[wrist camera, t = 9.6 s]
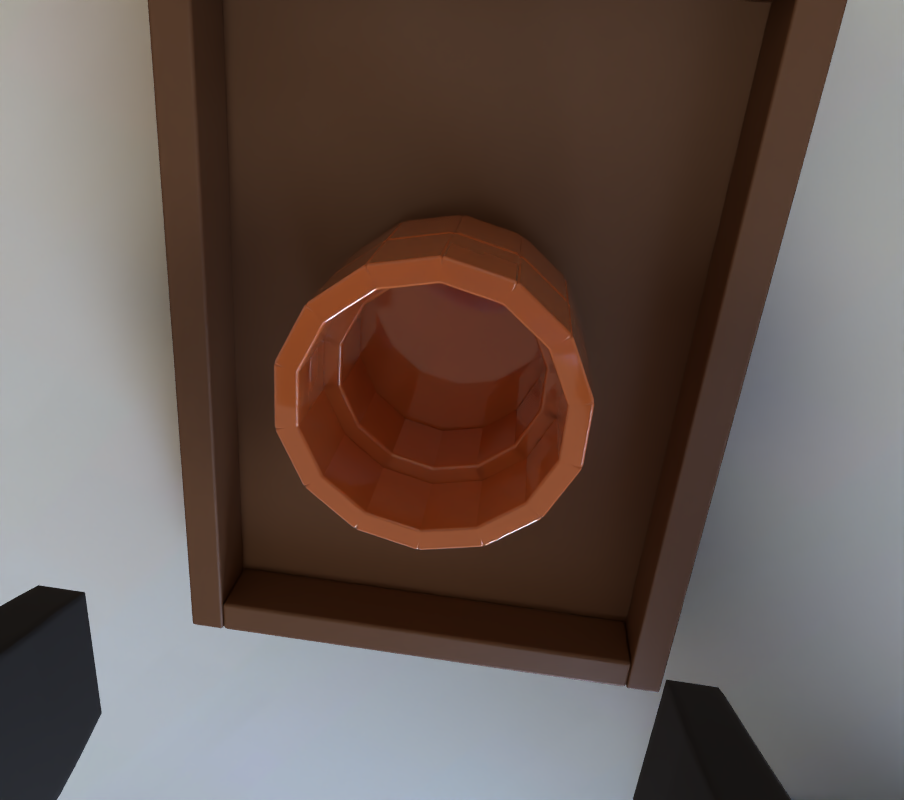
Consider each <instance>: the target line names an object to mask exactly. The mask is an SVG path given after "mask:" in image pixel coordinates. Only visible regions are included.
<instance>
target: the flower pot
mask: <svg viewBox="0 0 904 800" xmlns="http://www.w3.org/2000/svg"><path fill="white" fill-rule="evenodd" d="M594 406H595V404H594V394H593V388H592V381H591V375H590V368H589V362H588V355H587V349H586V342H585V336H584V331H583V328H582V325H581V321H580V318H579V315H578V312H577V309H576V306H575V303H574V300H573V297H572V294H571V290H570V287H569V284H568V281H567V280H565V278H564V276H563V275H562V274H561V273H560V272H559V271H558V270H557V269H556V268H555V267H554V266H553V265H552V264H551V263H550V262H549V261H548V260H547V259H546V258H545V257H544V256H543V255H542V254H541V253H540V252H539V251H538V250H537V249H536V248H535V247H534V246H533V245H532V244H531V243H530V242H529V241H528V240H527V239H526V238H524V237H521V235H520V234H518V233H516V232H513V231H510V230H507V229H504V228H501V227H498V226H495V225H493V224H490V223H487V222H484V221H481V220H478V219H475V218H472V217H470V216H463V217H462V216H461V215H452V216H444V217H436V218H427V219H419V220H411V221H405V222H403V223H398V224H397V225H395V226H394V227H392V228H391V229H389V230H388V231H386V232H385V233H383V234H382V235H380V236H379V237H377V238H376V239H374V240H373V241H371V242H370V243H368V244H367V245H365V246H364V247H362V248H361V249H359V250H358V251H356V252H355V253H354V254H353V255H352V256H351V257H350V258H349V259H348V260H347V261H346V262H345V263H344V264H343V265H342V266H341V267H340V268H339V269H338V270H337V271H336V272H335V273H334V275H333V276H332V277H331V278H330V279H329V280H328V281H327V282H326V283H325V284H324V285H323V286H322V287H321V288H320V289H319V290H318V291H317V292H316V293H315V294H314V296H313V297H312V298H311V299H310V300H309V301H308V302H307V303H306V304H305V305H304V306H303V308H302V310H301V312H300V314H299V316H298V318H297V320H296V322H295V323H294V325H293V327H292V329H291V331H290V333H289V335H288V337H287V339H286V340H285V342H284V344H283V346H282V348H281V350H280V352H279V354H278V356H277V357H276V359H275V364H274V417H275V428H276V432H277V434H278V436H279V438H280V440H281V442H282V444H283V446H284V448H285V450H286V452H287V454H288V455H289V457H290V459H291V461H292V463H293V465H294V467H295V469H296V471H297V473H298V475H299V477H300V479H301V481H302V483H303V485H306V486H305V487H306V488H307V489H308V490H309V491H310V492H311V493H313V494H314V495H315V496H316V497H317V498H319V499H320V500H321V501H322V502H323V503H325V504H326V505H327V506H328V507H329V508H331V509H332V510H333V511H334V512H335V513H337V514H338V515H339V516H340V517H341V518H343V519H344V520H345V521H346V522H347V523H349V524H350V525H351V526H352V527H354V528H355V527H356V529H357V530H360V531H363V532H366V533H369V534H372V535H375V536H378V537H381V538H384V539H387V540H390V541H393V542H396V543H399V544H402V545H405V546H408V547H411V548H414V549H418V548H419V549H420V550H426V549H445V548H464V547H482V546H483V545H488V544H490V543H492V542H494V541H496V540H499V539H501V538H503V537H505V536H507V535H509V534H511V533H513V532H515V531H517V530H519V529H521V528H523V527H525V526H528V525H530V524H532V523H534V522H536V521H538V520H540V519H541V518H542V517H544V516H545V515H546V513H547V512H548V511H549V510H550V508H551V507H552V506H553V505H554V503H555V502H556V501H557V500H558V498H559V497H560V496H561V495H562V493H563V492H564V491H565V490H566V488H567V487H568V486H569V485H570V483H571V482H572V481H573V480H574V478H575V477H576V476H577V475H578V473H579V472H580V471H581V469H582V466H583V465H584V460H585V455H586V450H587V444H588V439H589V433H590V428H591V422H592V417H593V412H594Z"/></svg>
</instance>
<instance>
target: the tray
mask: <svg viewBox="0 0 904 800" xmlns="http://www.w3.org/2000/svg"><path fill="white" fill-rule="evenodd" d="M846 3H847V0H148V9H149V23H150V36H151V50H152V64H153V78H154V92H155V105H156V119H157V133H158V147H159V161H160V174H161V188H162V202H163V216H164V230H165V243H166V257H167V271H168V285H169V299H170V312H171V326H172V340H173V354H174V368H175V381H176V395H177V409H178V423H179V437H180V450H181V464H182V478H183V492H184V506H185V519H186V533H187V547H188V561H189V575H190V588H191V602H192V616H193V623H194V624H197V625H204V626H211V627H218V628H222V627H223V626H225V628H227V629H234V630H240V631H247V632H254V633H261V634H268V635H275V636H281V637H288V638H295V639H302V640H309V641H316V642H323V643H329V644H336V645H343V646H350V647H357V648H364V649H370V650H377V651H384V652H391V653H398V654H405V655H411V656H418V657H425V658H432V659H439V660H446V661H452V662H459V663H466V664H473V665H480V666H487V667H494V668H500V669H507V670H514V671H521V672H528V673H535V674H541V675H548V676H555V677H562V678H569V679H576V680H582V681H589V682H596V683H603V684H610V685H617V686H625V685H626V686H627V688H632V689H639V690H646V691H653V692H659V690H660V687H661V683H662V679H663V676H664V672H665V668H666V665H667V661H668V657H669V654H670V650H671V646H672V643H673V639H674V635H675V632H676V628H677V624H678V621H679V617H680V613H681V610H682V606H683V602H684V599H685V595H686V591H687V588H688V584H689V580H690V577H691V573H692V569H693V566H694V562H695V558H696V555H697V551H698V547H699V544H700V540H701V536H702V533H703V529H704V525H705V521H706V518H707V514H708V510H709V507H710V503H711V499H712V496H713V492H714V488H715V485H716V481H717V477H718V474H719V470H720V466H721V463H722V459H723V455H724V452H725V448H726V444H727V441H728V437H729V433H730V430H731V426H732V422H733V419H734V415H735V411H736V408H737V404H738V400H739V397H740V393H741V389H742V386H743V382H744V378H745V375H746V371H747V367H748V364H749V360H750V356H751V352H752V349H753V345H754V341H755V338H756V334H757V330H758V327H759V323H760V319H761V316H762V312H763V308H764V305H765V301H766V297H767V294H768V290H769V286H770V283H771V279H772V275H773V272H774V268H775V264H776V261H777V257H778V253H779V250H780V246H781V242H782V239H783V235H784V231H785V228H786V224H787V220H788V217H789V213H790V209H791V206H792V202H793V198H794V195H795V191H796V187H797V183H798V180H799V176H800V172H801V169H802V165H803V161H804V158H805V154H806V150H807V147H808V143H809V139H810V136H811V132H812V128H813V125H814V121H815V117H816V114H817V110H818V106H819V103H820V99H821V95H822V92H823V88H824V84H825V81H826V77H827V73H828V70H829V66H830V62H831V59H832V55H833V51H834V48H835V44H836V40H837V37H838V33H839V29H840V25H841V22H842V18H843V14H844V11H845V7H846ZM452 215H461V216H462V217H463V216H470V217H472V218H475V219H478V220H481V221H484V222H487V223H490V224H493V225H495V226H498V227H501V228H504V229H507V230H510V231H513V232H516V233H518V234H520V235H521V237H524V238H526V239H527V240H528V241H529V242H530V243H531V244H532V245H533V246H534V247H535V248H536V249H537V250H538V251H539V252H540V253H541V254H542V255H543V256H544V257H545V258H546V259H547V260H548V261H549V262H550V263H551V264H552V265H553V266H554V267H555V268H556V269H557V270H558V271H559V272H560V273H561V274H562V275H563V276H564V278H565V280H567V281H568V284H569V287H570V290H571V294H572V297H573V300H574V303H575V306H576V309H577V312H578V315H579V318H580V321H581V325H582V328H583V331H584V336H585V342H586V349H587V355H588V362H589V368H590V375H591V381H592V388H593V394H594V404H595V406H594V412H593V417H592V422H591V428H590V433H589V439H588V444H587V450H586V455H585V460H584V465H583V466H582V469H581V471H580V472H579V473H578V475H577V476H576V477H575V478H574V480H573V481H572V482H571V483H570V485H569V486H568V487H567V488H566V490H565V491H564V492H563V493H562V495H561V496H560V497H559V498H558V500H557V501H556V502H555V503H554V505H553V506H552V507H551V508H550V510H549V511H548V512H547V513H546V515H545V516H544V517H542V518H541V519H540V520H538V521H536V522H534V523H532V524H530V525H528V526H525V527H523V528H521V529H519V530H517V531H515V532H513V533H511V534H509V535H507V536H505V537H503V538H501V539H499V540H496V541H494V542H492V543H490V544H488V545H483V546H482V547H464V548H445V549H426V550H420V549H419V548H418V549H414V548H411V547H408V546H405V545H402V544H399V543H396V542H393V541H390V540H387V539H384V538H381V537H378V536H375V535H372V534H369V533H366V532H363V531H360V530H357V529H356V527H355V528H354V527H352V526H351V525H350V524H349V523H347V522H346V521H345V520H344V519H343V518H341V517H340V516H339V515H338V514H337V513H335V512H334V511H333V510H332V509H331V508H329V507H328V506H327V505H326V504H325V503H323V502H322V501H321V500H320V499H319V498H317V497H316V496H315V495H314V494H313V493H311V492H310V491H309V490H308V489H307V488H306V487H305V486H306V485H303V483H302V481H301V479H300V477H299V475H298V473H297V471H296V469H295V467H294V465H293V463H292V461H291V459H290V457H289V455H288V454H287V452H286V450H285V448H284V446H283V444H282V442H281V440H280V438H279V436H278V434H277V432H276V428H275V417H274V364H275V359H276V357H277V356H278V354H279V352H280V350H281V348H282V346H283V344H284V342H285V340H286V339H287V337H288V335H289V333H290V331H291V329H292V327H293V325H294V323H295V322H296V320H297V318H298V316H299V314H300V312H301V310H302V308H303V306H304V305H305V304H306V303H307V302H308V301H309V300H310V299H311V298H312V297H313V296H314V294H315V293H316V292H317V291H318V290H319V289H320V288H321V287H322V286H323V285H324V284H325V283H326V282H327V281H328V280H329V279H330V278H331V277H332V276H333V275H334V273H335V272H336V271H337V270H338V269H339V268H340V267H341V266H342V265H343V264H344V263H345V262H346V261H347V260H348V259H349V258H350V257H351V256H352V255H353V254H354V253H355V252H356V251H358V250H359V249H361V248H362V247H364V246H365V245H367V244H368V243H370V242H371V241H373V240H374V239H376V238H377V237H379V236H380V235H382V234H383V233H385V232H386V231H388V230H389V229H391V228H392V227H394V226H395V225H397V224H398V223H403V222H405V221H411V220H419V219H427V218H436V217H444V216H452Z"/></svg>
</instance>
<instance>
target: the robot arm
mask: <svg viewBox="0 0 904 800" xmlns="http://www.w3.org/2000/svg"><path fill="white" fill-rule="evenodd" d="M100 715H101V705H100V698H99V691H98V684H97V676H96V669H95V662H94V655H93V648H92V640H91V633H90V626H89V619H88V612H87V604H86V597H85V592H79V591H72V590H66V589H59V588H52V587H46V586H39V585H38V586H36V587H35V588H33V589H31V590H29V591H27V592H25V593H23V594H21V595H20V596H18V597H16V598H14V599H12V600H11V601H9V602H7V603H5V604H4V605H2V606H0V800H57V798H58V797H59V795H60V794H61V792H62V790H63V788H64V786H65V784H66V782H67V780H68V778H69V777H70V775H71V773H72V771H73V769H74V767H75V765H76V763H77V761H78V760H79V758H80V756H81V754H82V752H83V750H84V748H85V746H86V744H87V742H88V740H89V738H90V736H91V733H92V731H93V729H94V727H95V725H96V723H97V721H98V719H99V717H100ZM633 800H791V798H790V797H789V795H788V794H787V792H786V791H785V789H784V788H783V786H782V785H781V783H780V782H779V780H778V779H777V777H776V775H775V774H774V772H773V771H772V769H771V768H770V766H769V765H768V763H767V762H766V760H765V759H764V757H763V755H762V754H761V752H760V751H759V749H758V748H757V746H756V744H755V743H754V741H753V740H752V738H751V737H750V735H749V733H748V732H747V730H746V729H745V727H744V725H743V724H742V722H741V721H740V719H739V718H738V716H737V714H736V713H735V711H734V710H733V708H732V706H731V705H730V703H729V702H728V700H727V699H726V697H725V696H724V694H723V693H722V692H721V690H720V689H719V688H718V687H712V686H705V685H699V684H692V683H685V682H679V681H672V680H666V683H665V686H664V690H663V694H662V697H661V701H660V704H659V708H658V711H657V715H656V719H655V722H654V726H653V729H652V733H651V737H650V740H649V744H648V747H647V751H646V754H645V758H644V762H643V765H642V769H641V772H640V776H639V779H638V783H637V787H636V790H635V794H634V797H633Z"/></svg>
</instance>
